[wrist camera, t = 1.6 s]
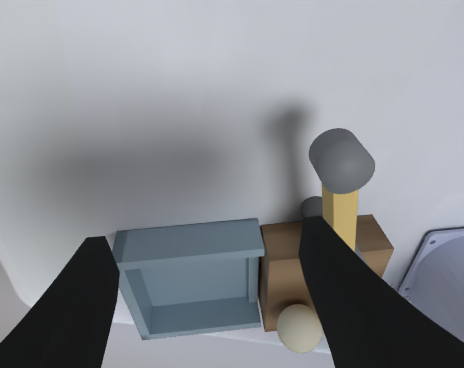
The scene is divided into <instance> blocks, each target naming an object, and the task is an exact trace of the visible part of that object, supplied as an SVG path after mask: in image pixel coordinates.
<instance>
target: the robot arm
mask: <svg viewBox="0 0 464 368" xmlns="http://www.w3.org/2000/svg"><path fill="white" fill-rule="evenodd" d="M298 255H299V260H300V264H301V268H302V272H303V276H304V280H305V283H306V285H307V288H308V291H309V294H310V296H311V299H312V302H313V304H314V307H315V310H316V312H317V315H318V318H319V320H320V323H321V325H322V328H323V331H324V333H325V336H326V339H327V342H328V345H329V348H330V351H331V354H332V358H333V361H334V365H335V368H464V229H453V230H443V231H434V232H431V233H429V234H428V235H427V236H426V238H425V240H424V242H423V244H422V246H421V248H420V250H419V252H418V254H417V256H416V258H415V260H414V262H413V263H412V265H411V267H410V269H409V271H408V273H407V275H406V277H405V279H404V281H403V283H402V285H401V287H400V289H399V291H398V293H397V292H396V291H395V290H394V289H393V288H392V287H390V286H389V285H388V284H387V283H386V282H385V281H384V280H383V279H382V278H381V277H379V276H378V275H377V274H376V273H375V272H374V271H373V270H372V269H371V268H370V267H369V266H368V265H367V264H366V263H365V262H364V261H363V260H362V259H361V258H360V257H359V256H358V255H357V254H356V253H355V252H354V251H353V250H352V249H351V248H350V247H349V246H348V245H347V244H346V243H345V242H344V240H343V239H342V238H341V237H340V236H339V235H338V234H337V233H336V232H335V231H334V229H333V228H332V227H331V226H330V225H329V224H328V223H327V222H326V220H325V219H324V218H323V217H322V216H311V217H304V220H303V226H302V233H301V239H300V246H299V252H298ZM119 277H120V271H119V269H118V266H117V264H116V261H115V259H114V256H113V254H112V252H111V249H110V247H109V244H108V242H107V240H106V237H105V236H99V237H88V238H86V239H85V241H84V242H83V243H82V244H81V246H80V247H79V248H78V250H77V251H76V252H75V254H74V255H73V256H72V258H71V259H70V261H69V262H68V263H67V264H66V266H65V267H64V268H63V270H62V271H61V272H60V274H59V275H58V276H57V278H56V279H55V280H54V281H53V283H52V284H51V285H50V286H49V288H48V289H47V290H46V291H45V293H44V294H43V295H42V296H41V298H40V299H39V300H38V301H37V302H36V304H35V305H34V306H33V307H32V308H31V309H30V311H29V312H28V313H27V314H26V315H25V317H24V318H23V319H22V320H21V321H20V322H19V323H18V325H17V326H16V327H15V328H14V329H13V330H12V331H11V332H10V333H9V334H8V335H7V336H6V337H5V339H4V340H3V341H2V342H1V343H0V368H101V365H102V361H103V357H104V353H105V348H106V344H107V340H108V336H109V332H110V327H111V324H112V319H113V315H114V311H115V307H116V302H117V296H118V287H119ZM403 297H409V299H410V300H411V302H412V304H413V305H414V306H413V305H412V304H411V303H409V302H408V301H407V300H406V299H405V298H403Z"/></svg>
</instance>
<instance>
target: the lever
mask: <svg viewBox="0 0 464 368" xmlns="http://www.w3.org/2000/svg"><path fill="white" fill-rule="evenodd" d="M309 159H310V161H311V163H312V165H313V167H314V169H315V171H316V173H317V175H318V177H319V178H320V180H321V182H322V204H323V218H324V219H325V220H326V222H327V223H328V224H329V225H330V226H331V227H332V228H333V229H334V231H335V232H336V233H337V234H338V235H339V236H340V237H341V238H342V239H343V240H344V242H345V243H346V244H347V245H348V246H349V247H350V248H351V249H352V250H353V251H354V252H355V253H356V254H357V255H358V256H359V257H360V258H361V259H362V260H363V261H364V262H365V263H366V261H365V259H364V257H363V255H362V253H361V251H360V250H359V248H358V246H357V244H356V242H355V238H356V221H357V205H358V189H360V188H361V187H363V186H364V185H365V184H366V183H367V182H368V181H369V180H370V179H371V177H372V176H373V174H374V171H375V162H374V159H373V158H372V156H371V155H370V154H369V153H368V152H367V150H366V149H365V148H364V147H363V145H362V144H361V143H360V142H359V140H358V139H357V138H356V137H355V136H354V134H353V133H352V132H350V131H349V130H346V129H342V128H336V129H331V130H328V131H326V132H324V133H322V134H321V135H319V136H318V137H317V138H316V139H315V140H314V141H313V143H312V144H311V147H310V149H309ZM366 264H367V263H366ZM367 265H368V264H367Z"/></svg>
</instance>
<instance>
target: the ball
mask: <svg viewBox="0 0 464 368" xmlns="http://www.w3.org/2000/svg"><path fill="white" fill-rule="evenodd" d="M277 332H278V336H279V338H280V340H281V342H282V343H283V344H284V345H285V346H286V347H287V348H288V349H290V350H291V351H293V352H296V353H308V352H310V351H312V350H314V349H315V348H316V347H317V346H318V344H319V343H320V341H321V338H322V334H323V328H322V325H321V323H320V320H319V318H318V315H317V314H316V312H315V311H314V310H312V309H311V308H310V307H308V306H306V305H302V304H294V305H290V306H288V307H287V308H285V309H284V310H283V311H282V312H281V314H280V316H279V318H278V321H277Z"/></svg>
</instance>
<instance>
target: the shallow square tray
mask: <svg viewBox="0 0 464 368" xmlns="http://www.w3.org/2000/svg"><path fill="white" fill-rule="evenodd" d="M112 254H113V256H114V259H115V261H116V264H117V266H118V269H119V271H120V277H119V288H120V291H121V293H122V295H123V297H124V300H125V302H126V304H127V306H128V309H129V311H130V313H131V316H132V318H133V320H134V322H135V325H136V327H137V329H138V331H139V334H140V336H141V338H142V340H150V339H158V338H167V337H176V336H185V335H194V334H202V333H211V332H220V331H229V330H238V329H246V328H255V327H261V320H260V315H259V309H258V303H257V294H258V263H259V257H260V256H264V245H263V240H262V236H261V232H260V227H259V223H258V219H257V218H256V219H245V220H235V221H224V222H213V223H203V224H192V225H181V226H171V227H160V228H149V229H139V230H128V231H117V234H116V238H115V242H114V246H113V250H112Z"/></svg>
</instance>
